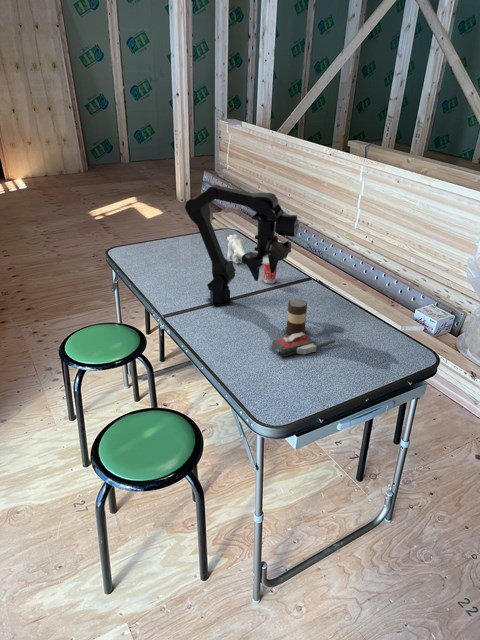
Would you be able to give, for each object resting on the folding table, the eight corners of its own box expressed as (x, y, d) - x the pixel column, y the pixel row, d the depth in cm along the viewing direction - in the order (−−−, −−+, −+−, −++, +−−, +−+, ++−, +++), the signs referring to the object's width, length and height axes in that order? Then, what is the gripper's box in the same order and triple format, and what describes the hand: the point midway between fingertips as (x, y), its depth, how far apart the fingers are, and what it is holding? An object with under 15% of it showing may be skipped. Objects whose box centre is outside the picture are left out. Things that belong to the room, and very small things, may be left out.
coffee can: (300, 338, 157) (302, 308, 152) (283, 333, 160) (285, 304, 155) (307, 330, 162) (310, 301, 157) (290, 325, 165) (293, 297, 160)
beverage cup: (277, 278, 199) (279, 245, 192) (276, 284, 194) (278, 251, 187) (262, 277, 200) (263, 245, 193) (261, 283, 194) (262, 250, 188)
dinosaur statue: (234, 252, 225) (234, 229, 220) (257, 271, 206) (258, 246, 201) (220, 254, 222) (220, 231, 217) (242, 273, 203) (243, 248, 198)
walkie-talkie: (282, 362, 145) (336, 346, 153) (283, 349, 143) (338, 334, 151) (267, 348, 152) (320, 334, 160) (268, 336, 150) (321, 322, 158)
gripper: (268, 245, 150) (267, 291, 157) (302, 231, 163) (299, 274, 170) (240, 237, 156) (240, 282, 164) (275, 224, 169) (273, 266, 176)
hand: (264, 276), depth 168 cm, fingers open, 9 cm apart
